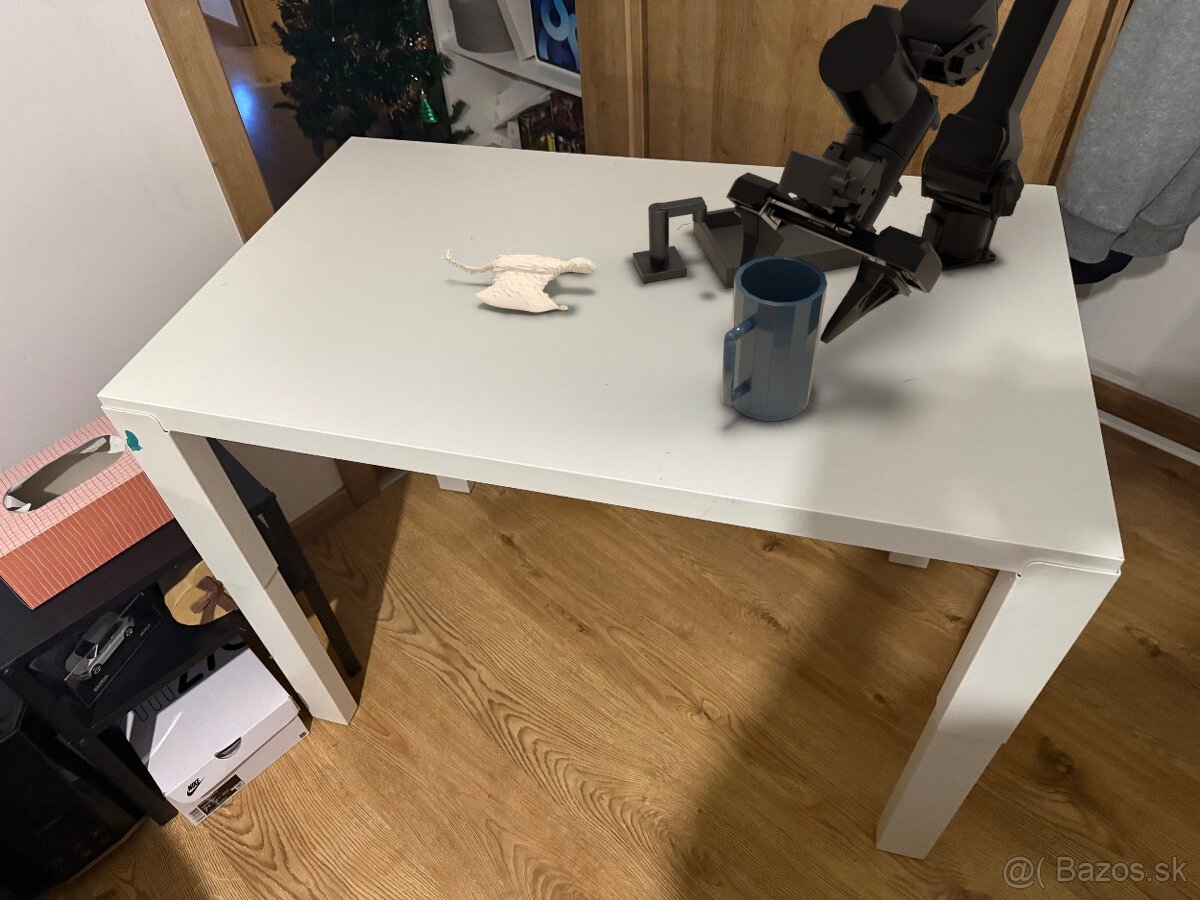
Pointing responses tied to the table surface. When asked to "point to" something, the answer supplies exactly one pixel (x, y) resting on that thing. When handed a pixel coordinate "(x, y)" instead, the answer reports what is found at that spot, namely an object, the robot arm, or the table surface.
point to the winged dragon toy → (524, 280)
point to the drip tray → (726, 243)
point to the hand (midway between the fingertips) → (778, 320)
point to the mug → (773, 337)
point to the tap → (666, 239)
